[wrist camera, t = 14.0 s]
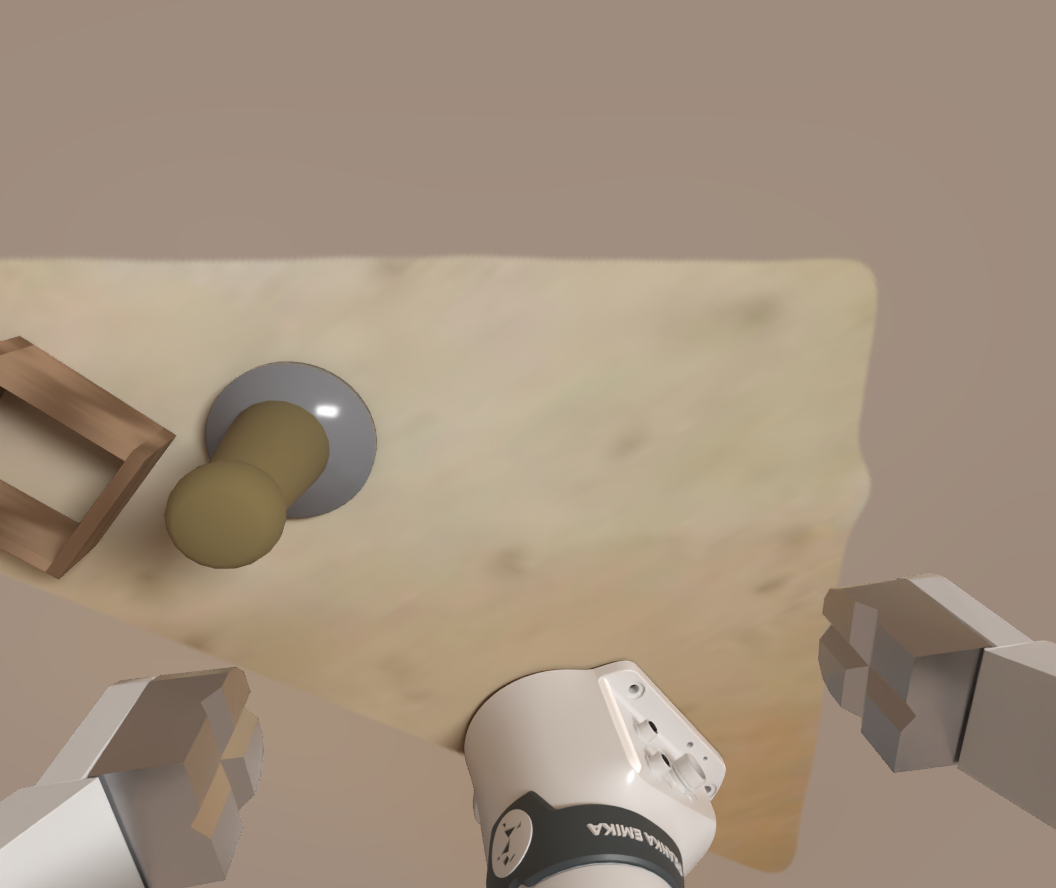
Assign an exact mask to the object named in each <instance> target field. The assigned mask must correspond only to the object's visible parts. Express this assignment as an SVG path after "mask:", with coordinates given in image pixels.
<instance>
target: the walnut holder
mask: <svg viewBox="0 0 1056 888" xmlns="http://www.w3.org/2000/svg"><path fill="white" fill-rule="evenodd" d="M5 389H6V390H8V391H9V392H11V393H13V394H14V395H16V396H18V397H19V398H21V399H23V400H24V401H26V402H28V403H29V404H31V405H33V406H34V407H36V408H37V409H39V410H41V411H42V412H44V413H46V414H47V415H49V416H51V417H52V418H54V419H56V420H57V421H59V422H61V423H62V424H64V425H66V426H67V427H69V428H71V429H72V430H74V431H75V432H77V433H79V434H80V435H82V436H84V437H85V438H87V439H89V440H90V441H92V442H94V443H95V444H97V445H99V446H100V447H102V448H104V449H105V450H107V451H108V452H110V453H112V454H113V455H115V456H117V457H118V458H120V459H122V460H123V461H125V462H124V463H123V465H122V466H121V467H120V469H119V470H118V472H117V473H116V474H115V476H114V477H113V479H112V480H111V481H110V483H109V484H108V485H107V487H106V488H105V490H104V491H103V492H102V494H101V495H100V497H99V498H98V499H97V501H96V502H95V504H94V505H93V506H92V508H91V509H90V511H89V512H88V513H87V515H86V516H85V517H84V519H83V520H82V522H81V523H80V524H79V523H77V522H75V521H73V520H71V519H70V518H68V517H66V516H64V515H62V514H61V513H59V512H57V511H55V510H54V509H52V508H50V507H48V506H46V505H45V504H43V503H41V502H39V501H37V500H36V499H34V498H32V497H30V496H29V495H27V494H25V493H23V492H21V491H20V490H18V489H16V488H14V487H12V486H11V485H9V484H7V483H5V482H4V481H2V480H0V549H2V550H4V551H6V552H8V553H10V554H12V555H14V556H15V557H17V558H19V559H21V560H23V561H25V562H27V563H29V564H31V565H33V566H34V567H36V568H38V569H40V570H42V571H44V572H46V573H48V574H50V575H52V576H53V577H55V578H57V579H60V578H61V577H62V576H63V575H64V574H65V573H66V572H67V571H68V570H69V569H71V568H72V567H73V566H74V565H75V564H76V563H77V562H78V561H79V560H80V559H82V558H83V557H84V556H85V555H86V554H87V553H88V552H89V551H90V550H91V549H92V548H94V547H95V546H96V545H97V543H98V542H99V540H100V539H101V538H102V536H103V535H104V534H105V532H106V531H107V529H108V528H109V527H110V525H111V524H112V523H113V521H114V520H115V519H116V517H117V516H118V514H119V513H120V512H121V510H122V509H123V508H124V506H125V505H126V504H127V502H128V501H129V499H130V498H131V497H132V495H133V494H134V493H135V491H136V490H137V489H138V487H139V486H140V484H141V483H142V482H143V480H144V479H145V478H146V476H147V475H148V473H149V472H150V471H151V469H152V468H153V467H154V465H155V464H156V463H157V461H158V460H159V458H160V457H161V456H162V454H163V453H164V452H165V450H166V449H167V448H168V446H169V445H170V443H171V442H172V441H173V439H174V438H175V437H176V435H175V434H173V433H171V432H170V431H168V430H167V429H165V428H164V427H162V426H160V425H159V424H157V423H156V422H154V421H153V420H151V419H149V418H148V417H146V416H145V415H143V414H142V413H140V412H138V411H137V410H135V409H134V408H132V407H131V406H129V405H127V404H126V403H124V402H123V401H121V400H120V399H118V398H116V397H115V396H113V395H112V394H110V393H109V392H107V391H105V390H104V389H102V388H101V387H99V386H98V385H96V384H94V383H93V382H91V381H90V380H88V379H87V378H85V377H83V376H82V375H80V374H79V373H77V372H76V371H74V370H72V369H71V368H69V367H68V366H66V365H65V364H63V363H61V362H60V361H58V360H57V359H55V358H54V357H52V356H50V355H49V354H47V353H46V352H44V351H43V350H41V349H39V348H38V347H36V346H35V345H33V344H32V343H30V342H28V341H27V340H25V339H24V338H22V337H21V336H19V337H15V338H11V339H8V340H4V341H0V397H1V395H2V394H3V392H4V391H5Z"/></svg>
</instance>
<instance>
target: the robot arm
mask: <svg viewBox="0 0 1056 888" xmlns="http://www.w3.org/2000/svg"><path fill="white" fill-rule="evenodd" d="M822 614H823V615H824V616H825V618H826V619H827V620H828V621H829V623H830V624H831V626H830V627H829V628H828V629H827V631H826V632H825V633H824V634H823V636H822V637H821V638H820V639H819V654H818V661H819V665H820V669H821V673H822V677H823V680H824V682H825V684H826V686H827V688H828V690H829V692H830V694H831V695H832V696H833V697H834V699H835V700H836V701H837V703H838V704H839V705H840V706H841V707H842V708H844V709H846V710H848V711H849V712H851V713H853V714H855V715H857V716H859V717H861V718H862V720H861V721H862V722H861V733H862V734H863V735H864V737H865V738H866V739H867V740H868V742H869V743H870V744H871V745H872V746H873V748H874V749H875V750H876V752H878V754H879V755H880V756H881V758H882V759H883V760H884V761H885V763H886V764H887V765H888V766H889V767H890V769H891V770H892V771H893V772H894V773H896V772H904V771H912V770H920V769H927V768H935V767H943V766H951V765H958V767H957V768H958V769H960V770H961V771H963V772H965V773H966V774H968V775H969V776H971V777H972V778H974V779H975V780H977V781H979V782H980V783H982V784H983V785H985V786H987V787H989V788H990V789H992V790H993V791H995V792H996V793H998V794H999V795H1001V796H1003V797H1004V798H1006V799H1008V800H1009V801H1011V802H1012V803H1014V804H1016V805H1017V806H1019V807H1020V808H1022V809H1024V810H1025V811H1027V812H1028V813H1030V814H1032V815H1033V816H1035V817H1036V818H1038V819H1040V820H1041V821H1043V822H1044V823H1046V824H1048V825H1049V826H1051V827H1052V828H1054V829H1056V644H1054V643H1052V642H1049V641H1046V640H1043V641H1036V642H1033V641H1032V640H1031V639H1029V638H1028V637H1027V636H1025V635H1024V634H1022V633H1021V632H1020V631H1018V630H1017V629H1015V628H1014V627H1013V626H1011V625H1010V624H1008V623H1007V622H1006V621H1004V620H1003V619H1002V618H1000V617H999V616H997V615H996V614H995V613H993V612H992V611H990V610H989V609H988V608H986V607H985V606H984V605H982V604H981V603H979V602H978V601H976V600H975V599H974V598H972V597H971V596H969V595H968V594H967V593H965V592H964V591H963V590H961V589H960V588H959V587H957V586H956V585H954V584H953V583H952V582H950V581H949V580H947V579H946V578H944V577H943V576H940V575H936V574H933V573H927V574H920V575H914V576H908V577H902V578H897V579H896V580H891V581H883V582H876V583H868V584H861V585H854V586H846V587H839V588H832V589H829V591H828V593H827V595H826V596H825V598H824V605H823V613H822ZM631 685H635V686H633V687H630V686H631ZM249 694H250V689H249V685H248V682H247V679H246V676H245V674H244V671H242V670H241V669H239V668H237V667H231V668H223V669H213V670H205V671H196V672H186V673H177V674H168V675H160V676H158V677H154V676H153V677H145V678H137V679H129V680H121V681H119V682H116V683H114V684H113V685H111V686H109V687H108V688H107V689H106V691H105V692H104V693H103V695H102V696H101V697H100V699H99V700H98V701H97V703H96V704H95V705H94V707H93V708H92V709H91V711H90V712H89V713H88V715H87V716H86V717H85V719H84V720H83V722H82V723H81V724H80V725H79V727H78V728H77V729H76V731H75V732H74V734H73V735H72V736H71V738H70V739H69V740H68V742H67V743H66V744H65V746H64V747H63V748H62V750H61V751H60V752H59V754H58V755H57V756H56V758H55V759H54V761H53V762H52V763H51V764H50V766H49V767H48V768H47V770H46V771H45V773H44V774H43V775H42V776H41V778H40V779H39V781H38V782H37V783H36V785H35V786H32V787H26V788H20V789H18V790H17V791H15V792H14V793H12V794H11V795H10V796H8V797H7V798H5V799H4V800H2V801H1V802H0V888H185V887H190V886H196V885H201V884H207V883H211V882H216V881H222V880H225V879H226V876H227V873H228V870H229V867H230V865H231V862H232V859H233V856H234V853H235V850H236V847H237V844H238V841H239V839H240V836H241V833H242V830H243V824H242V821H241V817H240V814H239V810H240V809H241V808H242V807H243V806H244V805H245V803H247V802H248V801H249V800H250V799H251V798H252V797H253V796H254V795H255V792H256V789H257V786H258V783H259V780H260V777H261V772H262V763H263V753H264V747H263V736H262V730H261V727H260V723H259V719H258V717H256V716H255V715H254V714H252V713H251V712H249V711H248V710H247V709H245V708H244V706H245V703H246V701H247V699H248V696H249ZM464 751H465V760H466V764H467V767H468V770H469V773H470V776H471V780H472V783H473V787H474V797H473V809H474V815H475V819H476V821H477V822H478V823H479V824H480V825H481V831H482V837H483V843H484V849H485V856H486V861H487V868H488V869H487V879H486V886H487V888H684V877H685V876H686V875H687V874H688V873H689V872H690V871H691V870H692V869H693V867H694V866H695V865H696V864H697V863H698V862H699V861H700V860H701V858H702V857H703V856H704V855H705V853H706V852H707V850H708V849H709V847H710V845H711V843H712V841H713V838H714V835H715V832H716V817H715V813H714V810H713V807H712V805H711V802H710V801H711V800H712V799H713V797H714V796H715V794H716V793H717V791H718V789H719V787H720V785H721V783H722V781H723V778H724V775H725V772H726V767H725V764H724V761H723V759H722V757H721V756H720V754H719V753H718V752H717V751H716V750H715V749H714V748H713V747H712V746H711V745H710V744H709V742H708V741H707V740H706V739H705V738H704V737H703V736H702V735H701V734H700V733H699V732H698V731H697V730H696V728H695V727H694V726H693V725H692V724H691V723H690V722H689V721H688V720H687V719H686V718H685V717H684V716H683V715H682V713H681V712H680V711H679V710H678V709H677V708H676V707H675V706H674V705H673V704H672V703H671V702H670V701H669V699H668V698H667V697H666V696H665V695H664V694H663V693H662V692H661V691H660V690H659V689H658V688H657V687H656V685H655V684H654V683H653V682H652V681H651V680H650V679H649V678H648V677H647V676H646V675H645V674H644V673H643V672H642V670H641V669H640V668H639V667H638V666H637V665H636V664H634V663H633V662H630V661H618V662H614V663H610V664H607V665H604V666H601V667H598V668H595V669H589V670H552V671H545V672H540V673H536V674H533V675H529V676H527V677H524V678H521V679H519V680H517V681H515V682H513V683H511V684H509V685H507V686H505V687H504V688H502V689H501V690H499V691H498V692H497V693H495V694H494V695H493V696H492V697H490V698H489V699H488V700H487V701H486V702H485V703H484V704H483V705H482V707H481V708H480V709H479V710H478V712H477V713H476V715H475V716H474V718H473V720H472V721H471V723H470V726H469V728H468V731H467V734H466V738H465V746H464Z"/></svg>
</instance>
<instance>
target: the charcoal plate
mask: <svg viewBox="0 0 1056 888" xmlns="http://www.w3.org/2000/svg"><path fill="white" fill-rule="evenodd" d="M267 400H270V401H286V402H289V403H292V404H295V405H298V406H300V407H302V408H303V409H305V410H306V411H308V412H309V413H311V414H312V415H314V417H315V418H316V419H317V420H318V421H319V423H320V424H321V425H322V426H323V428H324V430H325V433H326V435H327V438H328V440H329V454H330V456H329V459H328V462H327V465H326V469H325V470H324V471H323V473H322V474H321V475H320V477H319V478H318V479H317V480H316V481H315V482H314V483H313V484H312V485H311V486H310V487H309V488H308V489H307V490H306V491H305V492H304V493H303V494H302V495H301V496H300V497H299V498H298V500H297V501H296V502H295V503H294V504H293V505H292V506H291V507H290V508H289V509H288V510H287V511H286V517H288V518H307V517H313V516H319V515H322V514H325V513H328V512H331V511H333V510H335V509H337V508H339V507H341V506H342V505H344V504H346V503H347V502H348V501H349V500H351V499H352V498H353V497H354V496H355V495H356V494H357V493H358V492H359V491H360V490H361V488H362V487H363V485H364V484H365V483H366V481H367V479H368V477H369V475H370V472H371V469H372V466H373V463H374V460H375V455H376V450H377V437H376V429H375V425H374V421H373V419H372V416H371V414H370V411H369V409H368V408H367V406H366V404H365V402H364V401H363V400H362V398H361V397H360V396H359V394H358V393H357V392H356V391H355V390H354V389H353V388H352V387H351V386H350V385H349V384H347V383H346V382H345V381H344V380H343V379H341V378H339V377H338V376H336V375H335V374H333V373H331V372H329V371H327V370H325V369H323V368H320V367H317V366H314V365H310V364H306V363H301V362H275V363H269V364H265V365H262V366H258V367H256V368H254V369H251V370H249V371H247V372H246V373H244V374H242V375H241V376H239V377H238V378H237V379H235V380H234V381H233V382H231V383H230V384H229V385H228V386H227V387H226V388H225V389H224V390H223V391H222V392H221V393H220V395H219V396H218V397H217V399H216V401H215V402H214V404H213V406H212V408H211V410H210V413H209V416H208V420H207V425H206V445H207V450H208V455H209V458H210V460H211V459H212V458H213V456H214V454H215V452H216V450H217V449H218V447H219V445H220V443H221V442H222V440H223V438H224V436H225V435H226V433H227V431H228V429H229V428H230V426H231V424H232V423H233V421H234V420H235V419H236V417H237V416H238V415H239V413H240V412H242V411H243V410H245V409H246V408H248V407H249V406H251V405H253V404H256V403H260V402H264V401H267Z"/></svg>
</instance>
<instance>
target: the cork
mask: <svg viewBox="0 0 1056 888" xmlns="http://www.w3.org/2000/svg"><path fill="white" fill-rule="evenodd" d="M329 456H330V454H329V440H328V438H327V435H326V433H325V430H324V428H323V426H322V425H321V424H320V423H319V421H318V420H317V419H316V418H315V417H314V415H312V414H311V413H309V412H308V411H306V410H305V409H303V408H302V407H300V406H298V405H295V404H292V403H289V402H286V401H270V400H267V401H264V402H260V403H256V404H253V405H251V406H249V407H248V408H246V409H245V410H243V411H242V412H240V413H239V415H238V416H237V417H236V419H235V420H234V421H233V423H232V424H231V426H230V428H229V429H228V431H227V433H226V435H225V436H224V438H223V440H222V442H221V443H220V445H219V447H218V449H217V450H216V452H215V454H214V456H213V458H212V459H211V461H210V463H208V464H205V465H202V466H199V467H197V468H196V469H194V470H193V471H191V472H190V473H188V474H187V475H185V476H184V477H183V478H182V479H181V480H180V481H179V482H178V483H177V485H176V486H175V488H174V489H173V490H172V492H171V493H170V496H169V499H168V502H167V506H166V511H165V521H166V528H167V531H168V533H169V535H170V537H171V539H172V541H173V543H174V545H175V546H176V547H177V548H178V549H179V550H180V551H181V552H182V553H183V554H184V555H185V556H186V557H187V558H189V559H191V560H193V561H194V562H196V563H198V564H200V565H203V566H207V567H211V568H215V569H229V568H239V567H242V566H246V565H249V564H252V563H254V562H255V561H257V560H258V559H260V558H261V557H263V556H264V555H266V554H267V553H268V552H270V551H271V549H272V548H273V547H274V545H275V544H276V543H277V541H278V540H279V539H280V537H281V535H282V532H283V529H284V525H285V522H286V511H287V510H288V509H289V508H290V507H291V506H292V505H293V504H294V503H295V502H296V501H297V500H298V498H299V497H300V496H301V495H302V494H303V493H304V492H305V491H306V490H307V489H308V488H309V487H310V486H311V485H312V484H313V483H314V482H315V481H316V480H317V479H318V478H319V477H320V475H321V474H322V473H323V471H324V470H325V469H326V465H327V462H328V459H329Z"/></svg>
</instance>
